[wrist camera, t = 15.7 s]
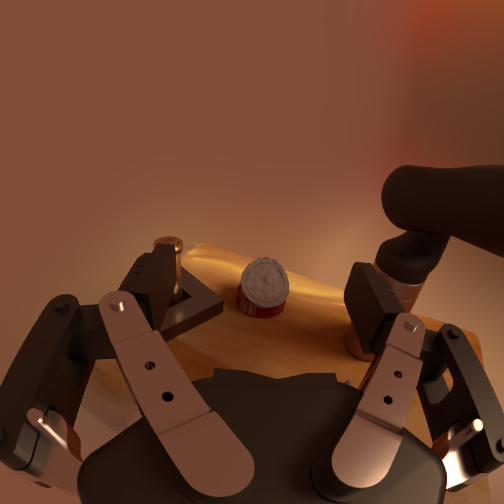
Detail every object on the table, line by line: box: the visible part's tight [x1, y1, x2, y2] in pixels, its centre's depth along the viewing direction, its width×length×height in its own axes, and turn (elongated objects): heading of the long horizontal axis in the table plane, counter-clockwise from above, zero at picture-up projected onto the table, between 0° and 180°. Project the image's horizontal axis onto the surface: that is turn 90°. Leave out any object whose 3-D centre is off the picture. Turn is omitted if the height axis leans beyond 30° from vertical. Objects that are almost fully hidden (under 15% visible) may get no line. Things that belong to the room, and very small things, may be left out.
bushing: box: [154, 236, 183, 308], centre depth 49 cm, size 5×5×14 cm
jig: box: [159, 266, 224, 342], centre depth 52 cm, size 14×14×3 cm
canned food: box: [237, 257, 289, 318], centre depth 56 cm, size 11×10×10 cm
